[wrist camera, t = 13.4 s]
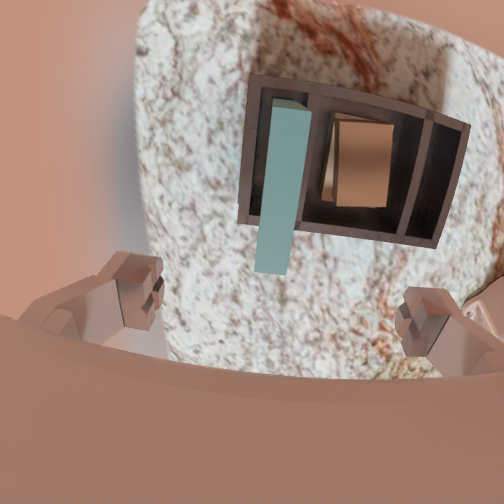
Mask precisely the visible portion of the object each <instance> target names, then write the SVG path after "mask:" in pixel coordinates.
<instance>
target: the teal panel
mask: <svg viewBox="0 0 504 504" xmlns="http://www.w3.org/2000/svg"><path fill="white" fill-rule="evenodd" d="M311 115H312V112H311V111H310V110H308V109H307V108H306V107H304V106H303V105H301V104H300V103H299V102H297V101H296V100H294V99H290V98H283V97H274V96H273V104H272V113H271V122H270V132H269V141H268V150H267V158H266V167H265V176H264V185H263V194H262V204H261V213H260V223H259V232H258V241H257V250H256V260H255V269H254V272H260V273H269V274H278V275H286V272H287V267H288V261H289V255H290V250H291V244H292V238H293V232H294V226H295V220H296V214H297V208H298V202H299V196H300V190H301V183H302V177H303V170H304V164H305V157H306V150H307V143H308V136H309V129H310V122H311Z"/></svg>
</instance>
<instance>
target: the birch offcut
mask: <svg viewBox="0 0 504 504" xmlns="http://www.w3.org/2000/svg"><path fill="white" fill-rule="evenodd" d="M334 118H337V119H356V120H370V121H380V120H376V119H371V118H367V117H362V116H358V115H353V114H348V113H343V112H337V111H332V110H331V115H330V122H329V128H328V135H327V141H326V147H325V154H324V160H323V166H322V172H321V177H320V183H319V189H318V193H319V196H320V199H321V200H324V201H331V202H334V200H333V198H332V190H333V166H334ZM382 122H384V121H382ZM386 123H387V122H386ZM389 124H390V123H389ZM391 125H392V124H391ZM393 127H394V125H393ZM370 208H376V207H370Z"/></svg>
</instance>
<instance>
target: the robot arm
mask: <svg viewBox="0 0 504 504" xmlns="http://www.w3.org/2000/svg"><path fill="white" fill-rule="evenodd" d="M162 271H163V260H162V258H161V257H158V256H151V255H145V254H138V253H132V252H126V251H117V252H116V253H115V254H114V255H113V256H112V258H111V259H110V260H109V261H108V262H107V264H106V265H105V266H104V267H103V269H102V270H101V271H100V272H99V274H98V275H97V276H94V275H92V276H90V277H87V278H85V279H83V280H80V281H78V282H75V283H73V284H71V285H68V286H66V287H64V288H61V289H59V290H57V291H54V292H52V293H50V294H47V295H45V296H43V297H40V298H38V299H36V300H34V301H33V302H32V303H31V305H30V306H29V307H28V308H27V309H26V310H25V312H24V313H23V314H22V315H21V316H20V318H19V319H18V320H15V319H13V318H10V317H7V316H4V315H2V314H0V504H504V276H502V277H500V278H499V279H497V280H496V281H494V282H493V283H492V284H490V285H489V286H488V287H487V288H486V289H485V290H484V291H483V292H482V293H480V294H479V295H477V296H475V297H473V298H471V299H469V300H468V301H466V302H465V304H464V305H463V307H462V310H460V309H459V307H458V306H457V304H456V303H455V301H454V300H453V298H452V297H451V295H450V294H449V292H448V291H447V290H446V289H441V288H422V287H408V288H407V290H406V291H405V293H404V296H403V298H404V301H405V302H404V303H403V304H402V305H400V306H399V307H398V310H397V313H396V316H395V328H396V331H397V333H398V334H399V335H400V336H401V337H402V338H403V339H402V341H401V344H402V347H403V350H404V352H405V355H406V356H415V357H426V358H427V359H428V360H429V361H430V363H431V364H432V365H433V366H434V367H435V368H436V369H437V370H438V371H439V372H440V373H441V374H442V376H443V378H425V379H394V380H359V379H327V378H309V377H294V376H282V375H271V374H261V373H252V372H244V371H235V370H228V369H220V368H213V367H207V366H200V365H194V364H188V363H182V362H176V361H171V360H165V359H160V358H155V357H150V356H145V355H140V354H136V353H131V352H126V351H122V350H118V349H114V348H110V347H106V346H102V345H101V344H103V343H104V342H106V341H107V340H108V339H110V338H111V337H112V336H114V335H115V334H117V333H118V332H120V331H121V330H122V329H124V327H128V328H134V329H140V330H146V331H149V330H150V328H151V326H152V324H153V321H154V319H155V311H156V310H157V309H159V308H160V306H161V304H162V301H163V296H164V280H163V279H162V277H161V276H160V274H161V273H162Z"/></svg>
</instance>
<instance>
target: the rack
mask: <svg viewBox="0 0 504 504" xmlns="http://www.w3.org/2000/svg"><path fill="white" fill-rule="evenodd" d="M273 96H274V97H283V98H290V99H294V100H296V101H297V102H299V103H300V104H301V105H303V106H304V107H306V108H307V109H308V110H310V111H311V112H312V115H311V122H310V129H309V136H308V143H307V150H306V157H305V164H304V170H303V177H302V183H301V190H300V196H299V202H298V208H297V214H296V220H295V226H294V230H299V231H307V232H315V233H323V234H331V235H339V236H346V237H354V238H361V239H369V240H376V241H383V242H390V243H397V244H404V245H411V246H418V247H425V248H431V249H436V247H437V245H438V242H439V239H440V236H441V234H442V231H443V228H444V225H445V222H446V219H447V216H448V213H449V210H450V207H451V203H452V200H453V197H454V193H455V190H456V186H457V183H458V179H459V176H460V172H461V168H462V164H463V160H464V156H465V152H466V147H467V143H468V138H469V133H470V128H471V125H470V124H467V123H465V122H462V121H459V120H457V119H454V118H451V117H448V116H446V115H443V114H440V113H437V112H434V111H431V110H428V109H425V108H421V107H418V106H415V105H412V104H408V103H405V102H401V101H398V100H394V99H390V98H386V97H383V96H379V95H375V94H370V93H366V92H362V91H357V90H353V89H348V88H343V87H338V86H333V85H327V84H321V83H315V82H309V81H303V80H296V79H288V78H280V77H271V76H261V75H251V76H249V83H248V93H247V103H246V114H245V125H244V136H243V147H242V159H241V170H240V182H239V194H238V204H239V209H238V221H237V223H238V224H247V225H256V226H259V223H260V213H261V204H262V194H263V185H264V176H265V167H266V158H267V150H268V141H269V132H270V122H271V113H272V104H273ZM331 110H332V111H337V112H343V113H348V114H353V115H358V116H362V117H367V118H371V119H376V120H380V121H384V122H387V123H390V124H392V125H394V127H393V135H392V151H391V163H390V174H389V184H388V194H387V202H386V207H376V208H370V207H354V206H336V204H335V202H331V201H324V200H321V199H320V196H319V193H318V189H319V183H320V177H321V172H322V166H323V160H324V154H325V147H326V141H327V135H328V128H329V122H330V115H331Z"/></svg>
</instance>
